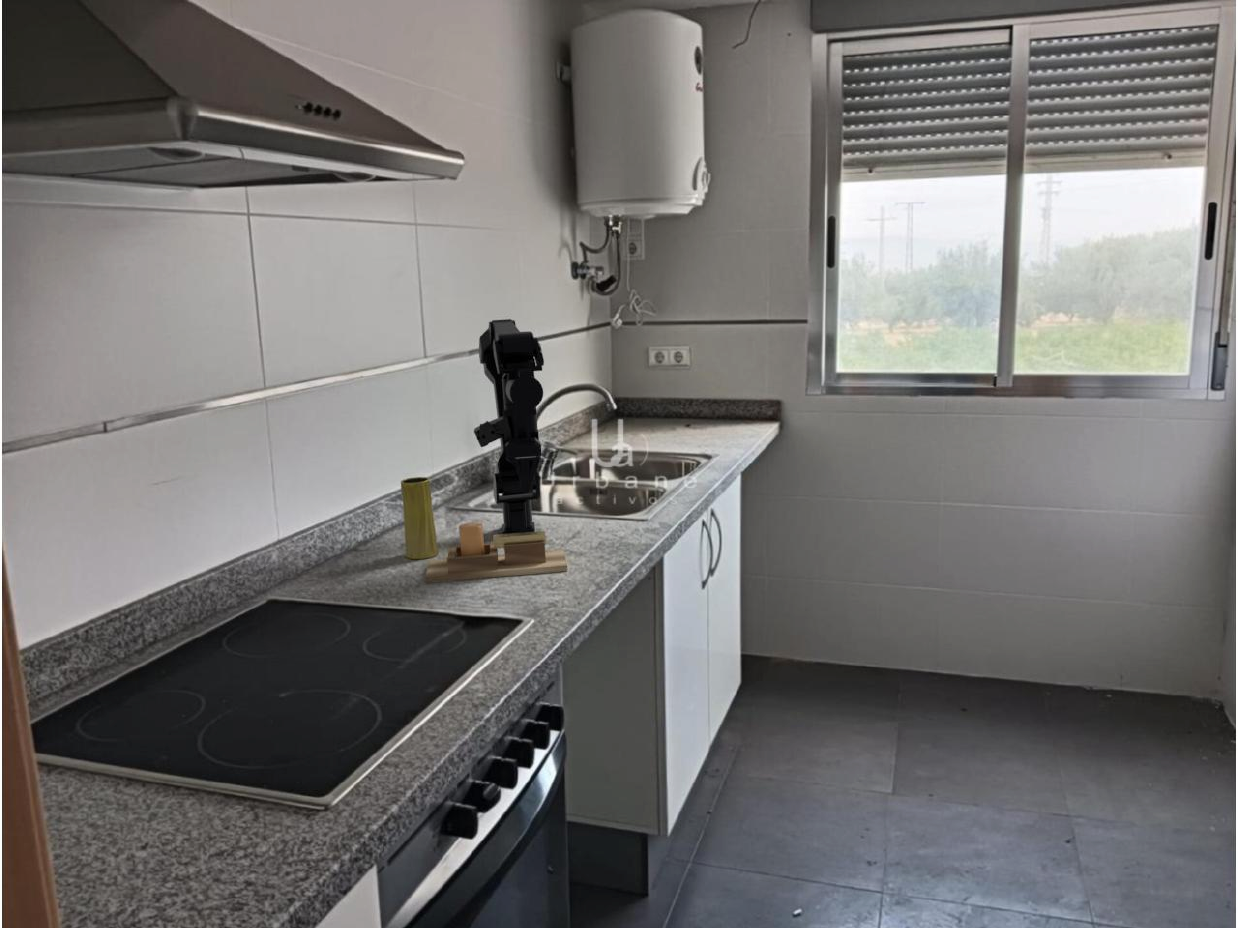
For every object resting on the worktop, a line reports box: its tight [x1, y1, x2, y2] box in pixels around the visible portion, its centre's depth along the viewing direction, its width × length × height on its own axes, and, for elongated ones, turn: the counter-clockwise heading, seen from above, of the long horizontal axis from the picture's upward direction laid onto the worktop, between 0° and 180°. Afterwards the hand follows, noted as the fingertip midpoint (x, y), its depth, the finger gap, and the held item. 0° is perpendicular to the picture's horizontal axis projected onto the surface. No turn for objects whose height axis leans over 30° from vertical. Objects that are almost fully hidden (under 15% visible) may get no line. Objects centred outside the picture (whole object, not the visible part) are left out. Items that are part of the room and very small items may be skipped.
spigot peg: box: [458, 522, 485, 556], centre depth 172 cm, size 4×4×7 cm
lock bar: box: [492, 530, 547, 550], centre depth 173 cm, size 2×9×2 cm, turn 96°
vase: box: [400, 476, 440, 560], centre depth 183 cm, size 6×6×14 cm
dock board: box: [424, 542, 568, 584], centre depth 173 cm, size 10×24×4 cm, turn 96°
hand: (525, 487), depth 181 cm, fingers open, 9 cm apart
